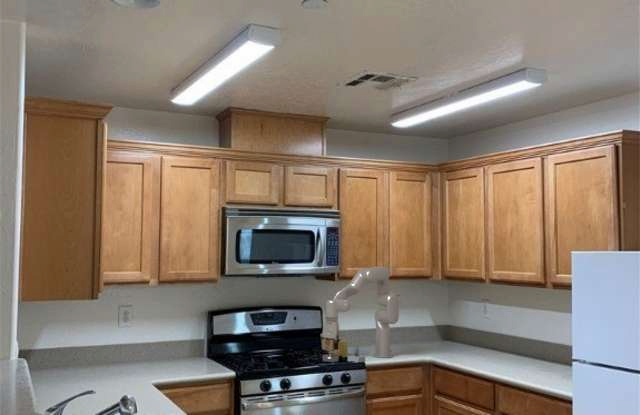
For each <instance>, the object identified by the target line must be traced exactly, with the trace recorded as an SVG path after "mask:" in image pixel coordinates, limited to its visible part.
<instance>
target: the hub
mask: <svg viewBox="0 0 640 415" xmlns="http://www.w3.org/2000/svg"><path fill="white" fill-rule="evenodd" d="M339 358H340V357H339V356H338V355H333V350H328V354H323V355H322V362H326V363H337V362H339Z"/></svg>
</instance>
